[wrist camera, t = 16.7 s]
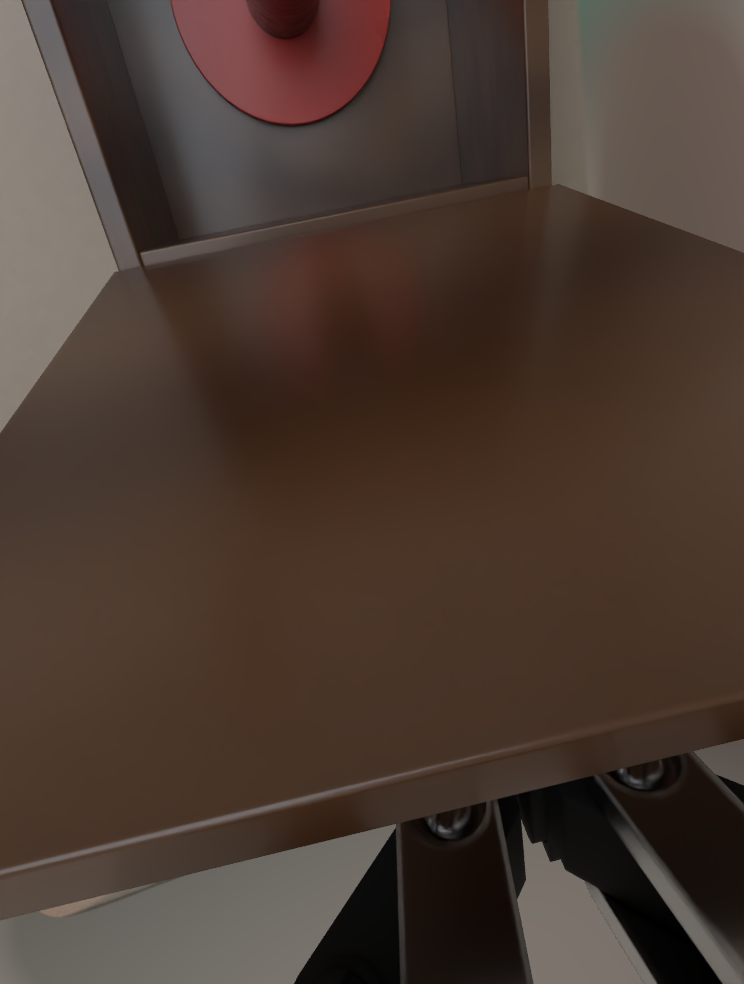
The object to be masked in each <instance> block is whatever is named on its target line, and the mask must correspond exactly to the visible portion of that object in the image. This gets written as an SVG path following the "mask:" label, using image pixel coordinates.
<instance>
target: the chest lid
mask: <svg viewBox="0 0 744 984" xmlns="http://www.w3.org/2000/svg"><path fill="white" fill-rule="evenodd" d="M740 739H744V253H743V252H740V251H737V250H735V249H732V248H729V247H727V246H724V245H721V244H718V243H716V242H713V241H710V240H707V239H705V238H702V237H700V236H697V235H694V234H691V233H689V232H686V231H683V230H681V229H678V228H675V227H672V226H670V225H667V224H664V223H662V222H659V221H656V220H654V219H651V218H648V217H645V216H643V215H640V214H637V213H634V212H632V211H629V210H627V209H624V208H621V207H619V206H616V205H613V204H611V203H608V202H605V201H602V200H600V199H597V198H594V197H592V196H589V195H586V194H584V193H581V192H578V191H575V190H573V189H570V188H567V187H565V186H562V185H559V184H557V185H552V186H547V187H542V188H537V189H532V190H527V191H522V192H517V193H512V194H506V195H501V196H496V197H491V198H486V199H481V200H476V201H471V202H466V203H461V204H456V205H451V206H446V207H441V208H436V209H431V210H426V211H421V212H416V213H411V214H406V215H400V216H395V217H390V218H385V219H380V220H375V221H370V222H365V223H360V224H355V225H350V226H345V227H340V228H335V229H330V230H325V231H320V232H315V233H310V234H305V235H300V236H294V237H289V238H284V239H279V240H274V241H269V242H264V243H259V244H254V245H249V246H244V247H239V248H234V249H229V250H224V251H219V252H214V253H209V254H204V255H199V256H194V257H188V258H183V259H178V260H173V261H168V262H163V263H158V264H153V265H148V266H143V267H138V268H133V269H128V270H123V271H118V272H115V273H114V274H113V275H112V276H111V278H110V279H109V281H108V282H107V283H106V285H105V286H104V288H103V289H102V291H101V292H100V293H99V295H98V296H97V298H96V299H95V300H94V302H93V303H92V305H91V306H90V307H89V309H88V310H87V312H86V313H85V314H84V316H83V317H82V319H81V320H80V322H79V323H78V324H77V326H76V327H75V329H74V330H73V331H72V333H71V334H70V336H69V337H68V338H67V340H66V341H65V343H64V344H63V345H62V347H61V348H60V350H59V351H58V353H57V354H56V355H55V357H54V358H53V360H52V361H51V362H50V364H49V365H48V367H47V368H46V369H45V371H44V372H43V374H42V375H41V376H40V378H39V379H38V381H37V382H36V384H35V385H34V386H33V388H32V389H31V391H30V392H29V393H28V395H27V396H26V398H25V399H24V400H23V402H22V403H21V405H20V406H19V407H18V409H17V410H16V412H15V413H14V415H13V416H12V417H11V419H10V420H9V422H8V423H7V424H6V426H5V427H4V429H3V430H2V431H1V433H0V920H3V919H7V918H11V917H16V916H20V915H24V914H28V913H32V912H36V911H40V910H45V909H49V908H53V907H57V906H61V905H65V904H69V903H73V902H77V901H81V900H86V899H90V898H94V897H98V896H102V895H106V894H110V893H114V892H118V891H122V890H126V889H131V888H135V887H139V886H143V885H147V884H151V883H155V882H159V881H163V880H167V879H172V878H176V877H180V876H184V875H188V874H192V873H196V872H200V871H204V870H208V869H212V868H216V867H221V866H225V865H229V864H233V863H237V862H241V861H245V860H249V859H253V858H258V857H261V856H265V855H270V854H274V853H278V852H282V851H286V850H290V849H294V848H298V847H302V846H307V845H311V844H315V843H319V842H323V841H327V840H331V839H335V838H339V837H344V836H348V835H352V834H356V833H360V832H364V831H368V830H372V829H376V828H380V827H384V826H389V825H392V824H397V823H401V822H405V821H409V820H413V819H417V818H421V817H425V816H430V815H434V814H438V813H442V812H446V811H450V810H454V809H458V808H462V807H466V806H470V805H475V804H479V803H483V802H487V801H491V800H495V799H499V798H503V797H507V796H511V795H516V794H520V793H524V792H528V791H532V790H536V789H540V788H544V787H548V786H552V785H556V784H561V783H565V782H569V781H573V780H577V779H581V778H585V777H589V776H593V775H597V774H602V773H606V772H610V771H614V770H618V769H622V768H626V767H630V766H634V765H638V764H642V763H647V762H651V761H655V760H659V759H663V758H667V757H671V756H675V755H679V754H683V753H688V752H692V751H696V750H699V749H704V748H708V747H712V746H716V745H720V744H724V743H728V742H732V741H737V740H740Z"/></svg>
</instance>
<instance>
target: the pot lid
mask: <svg viewBox="0 0 744 984" xmlns="http://www.w3.org/2000/svg"><path fill="white" fill-rule="evenodd" d="M170 2H171V7H172V12H173V15H174V18H175V22H176V25H177V28H178V31H179V33H180V36H181V38H182V40H183V43H184V45H185V47H186V49H187V51H188V53H189V55H190V56H191V58H192V60H193V62H194V64H195V65H196V67H197V68H198V70H199V71H200V72H201V74H202V75H203V77H204V78H205V79H206V81H207V82H208V83H209V84H210V85H211V86H212V88H213V89H214V90H215V91H216V92H217V93H218V94H219V95H220V96H221V97H222V98H224V99H225V100H226V101H227V102H228V103H229V104H231V105H232V106H234V107H235V108H236V109H238V110H239V111H241V112H243V113H244V114H246V115H248V116H250V117H252V118H254V119H257V120H260V121H263V122H265V123H269V124H274V125H279V126H302V125H308V124H312V123H316V122H319V121H321V120H324V119H326V118H328V117H330V116H332V115H334V114H335V113H337V112H338V111H340V110H341V109H343V108H344V107H345V106H346V105H347V104H349V103H350V102H351V101H352V100H353V99H354V98H355V97H356V96H357V94H358V93H359V92H360V91H361V90H362V88H363V87H364V85H365V84H366V82H367V81H368V79H369V78H370V76H371V75H372V73H373V71H374V69H375V67H376V65H377V63H378V61H379V58H380V56H381V53H382V50H383V47H384V44H385V40H386V36H387V32H388V27H389V20H390V12H391V0H170Z"/></svg>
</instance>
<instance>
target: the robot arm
mask: <svg viewBox="0 0 744 984" xmlns="http://www.w3.org/2000/svg"><path fill="white" fill-rule="evenodd" d="M521 820H522V822H523V825H524V827H525V830H526V832H527V835H528V837H529V839H530V841H531V843H537V842H541V841H542V843H543V845H544V848H545V850H546V853H547V855H548V858H549V860H550V862H552V861H556V860H559V859H561V861H562V863H563V865H564V868H565V870H567V871H569V872H570V873H572V874H574V875H575V876H577V877H579V878H581V879H583V880H584V881H585V883H586V886H587V888H588V890H589V892H590V895H591V897H592V899H593V900H594V902H595V903H596V905H597V907H598V909H599V910H600V912H601V914H602V915H603V917H604V919H605V920H606V922H607V924H608V925H609V927H610V929H611V930H612V932H613V934H614V935H615V937H616V939H617V940H618V942H619V943H620V945H621V947H622V949H623V950H624V952H625V954H626V955H627V957H628V959H629V960H630V962H631V964H632V965H633V967H634V969H635V970H636V972H637V974H638V975H639V977H640V979H641V980H642V982H643V984H744V786H743V785H741V784H738V783H736V782H733V781H730V780H728V779H726V778H723V777H721V776H718V775H716V774H714V773H713V772H712V770H711V769H710V768H709V767H708V766H707V765H706V764H705V763H704V762H703V761H702V760H701V759H700V758H699V757H698V756H697V755H696V754H695V753H694V752H693V751H692V752H688V753H683V754H679V755H675V756H671V757H667V758H663V759H659V760H655V761H651V762H647V763H642V764H638V765H634V766H630V767H626V768H622V769H618V770H614V771H610V772H606V773H602V774H597V775H593V776H589V777H585V778H581V779H577V780H573V781H569V782H565V783H561V784H556V785H552V786H548V787H544V788H540V789H536V790H532V791H528V792H524V793H520V794H516V795H511V796H507V797H503V798H499V799H495V800H491V801H487V802H483V803H479V804H475V805H470V806H466V807H462V808H458V809H454V810H450V811H446V812H442V813H438V814H434V815H430V816H425V817H421V818H417V819H413V820H409V821H405V822H401V823H397V824H396V828H395V830H394V831H393V833H392V834H391V836H390V837H389V839H388V840H387V842H386V843H385V845H384V846H383V848H382V849H381V851H380V853H379V854H378V855H377V857H376V859H375V860H374V862H373V863H372V865H371V866H370V868H369V869H368V871H367V872H366V874H365V875H364V877H363V878H362V880H361V881H360V883H359V884H358V886H357V887H356V889H355V890H354V892H353V893H352V895H351V896H350V898H349V899H348V901H347V902H346V904H345V905H344V907H343V908H342V910H341V912H340V913H339V915H338V916H337V918H336V919H335V921H334V922H333V924H332V925H331V927H330V928H329V930H328V931H327V933H326V934H325V936H324V937H323V939H322V940H321V942H320V943H319V945H318V946H317V948H316V949H315V951H314V952H313V954H312V955H311V957H310V958H309V960H308V961H307V963H306V964H305V966H304V968H303V969H302V971H301V972H300V974H299V975H298V977H297V979H296V981H295V983H294V984H533V979H532V974H531V969H530V964H529V959H528V954H527V948H526V943H525V939H524V934H523V928H522V923H521V918H520V913H519V908H518V903H517V899H518V896H519V894H520V892H521V890H522V887H523V885H524V883H525V881H526V875H525V863H524V850H523V838H522V826H521Z"/></svg>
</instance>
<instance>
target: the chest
mask: <svg viewBox="0 0 744 984" xmlns="http://www.w3.org/2000/svg"><path fill="white" fill-rule="evenodd" d="M21 1H22V4H23V7H24V9H25V12H26V15H27V18H28V20H29V23H30V26H31V29H32V32H33V34H34V37H35V40H36V43H37V45H38V48H39V51H40V54H41V56H42V59H43V62H44V65H45V68H46V70H47V73H48V76H49V79H50V81H51V84H52V87H53V90H54V93H55V95H56V98H57V101H58V104H59V106H60V109H61V112H62V115H63V117H64V120H65V123H66V126H67V129H68V131H69V134H70V137H71V140H72V142H73V145H74V148H75V151H76V153H77V156H78V159H79V162H80V165H81V167H82V170H83V173H84V176H85V178H86V181H87V184H88V187H89V189H90V192H91V195H92V198H93V201H94V203H95V206H96V209H97V212H98V214H99V217H100V220H101V223H102V226H103V228H104V231H105V234H106V237H107V239H108V242H109V245H110V248H111V250H112V253H113V256H114V259H115V262H116V264H117V267H118V270H119V271H123V270H128V269H133V268H138V267H143V266H148V265H153V264H158V263H163V262H168V261H173V260H178V259H183V258H188V257H194V256H199V255H204V254H209V253H214V252H219V251H224V250H229V249H234V248H239V247H244V246H249V245H254V244H259V243H264V242H269V241H274V240H279V239H284V238H289V237H294V236H300V235H305V234H310V233H315V232H320V231H325V230H330V229H335V228H340V227H345V226H350V225H355V224H360V223H365V222H370V221H375V220H380V219H385V218H390V217H395V216H400V215H406V214H411V213H416V212H421V211H426V210H431V209H436V208H441V207H446V206H451V205H456V204H461V203H466V202H471V201H476V200H481V199H486V198H491V197H496V196H501V195H506V194H512V193H517V192H522V191H527V190H532V189H537V188H542V187H547V186H552V180H551V128H550V76H549V24H548V0H391V12H390V20H389V27H388V32H387V36H386V40H385V44H384V47H383V50H382V53H381V56H380V58H379V61H378V63H377V65H376V67H375V69H374V71H373V73H372V75H371V76H370V78H369V79H368V81H367V82H366V84H365V85H364V87H363V88H362V90H361V91H360V92H359V93H358V94H357V96H356V97H355V98H354V99H353V100H352V101H351V102H350V103H349V104H347V105H346V106H345V107H344V108H343V109H341V110H340V111H338V112H337V113H335V114H334V115H332V116H330V117H328V118H326V119H324V120H321V121H319V122H316V123H312V124H308V125H302V126H279V125H274V124H269V123H265V122H263V121H260V120H257V119H254V118H252V117H250V116H248V115H246V114H244V113H243V112H241V111H239V110H238V109H236V108H235V107H234V106H232V105H231V104H229V103H228V102H227V101H226V100H225V99H224V98H222V97H221V96H220V95H219V94H218V93H217V92H216V91H215V90H214V89H213V88H212V86H211V85H210V84H209V83H208V82H207V81H206V79H205V78H204V77H203V75H202V74H201V72H200V71H199V70H198V68H197V67H196V65H195V64H194V62H193V60H192V58H191V56H190V55H189V53H188V51H187V49H186V47H185V45H184V43H183V40H182V38H181V36H180V33H179V31H178V28H177V25H176V22H175V18H174V15H173V12H172V7H171V2H170V0H21Z"/></svg>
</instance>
